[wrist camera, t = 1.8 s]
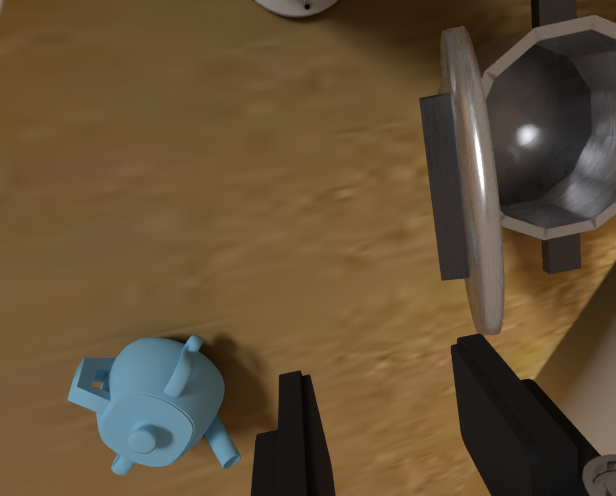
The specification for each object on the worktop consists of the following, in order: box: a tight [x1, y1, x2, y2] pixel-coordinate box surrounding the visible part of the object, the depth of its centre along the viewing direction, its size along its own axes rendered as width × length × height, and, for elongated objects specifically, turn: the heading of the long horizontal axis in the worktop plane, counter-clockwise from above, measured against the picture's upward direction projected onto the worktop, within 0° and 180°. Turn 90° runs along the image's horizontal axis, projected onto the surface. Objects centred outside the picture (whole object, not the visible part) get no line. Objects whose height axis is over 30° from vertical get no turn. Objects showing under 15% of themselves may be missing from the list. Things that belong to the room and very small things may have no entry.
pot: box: [437, 0, 616, 274], centre depth 43 cm, size 26×20×10 cm
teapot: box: [68, 335, 241, 475], centre depth 50 cm, size 20×17×12 cm
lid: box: [419, 26, 504, 336], centre depth 30 cm, size 19×19×3 cm
